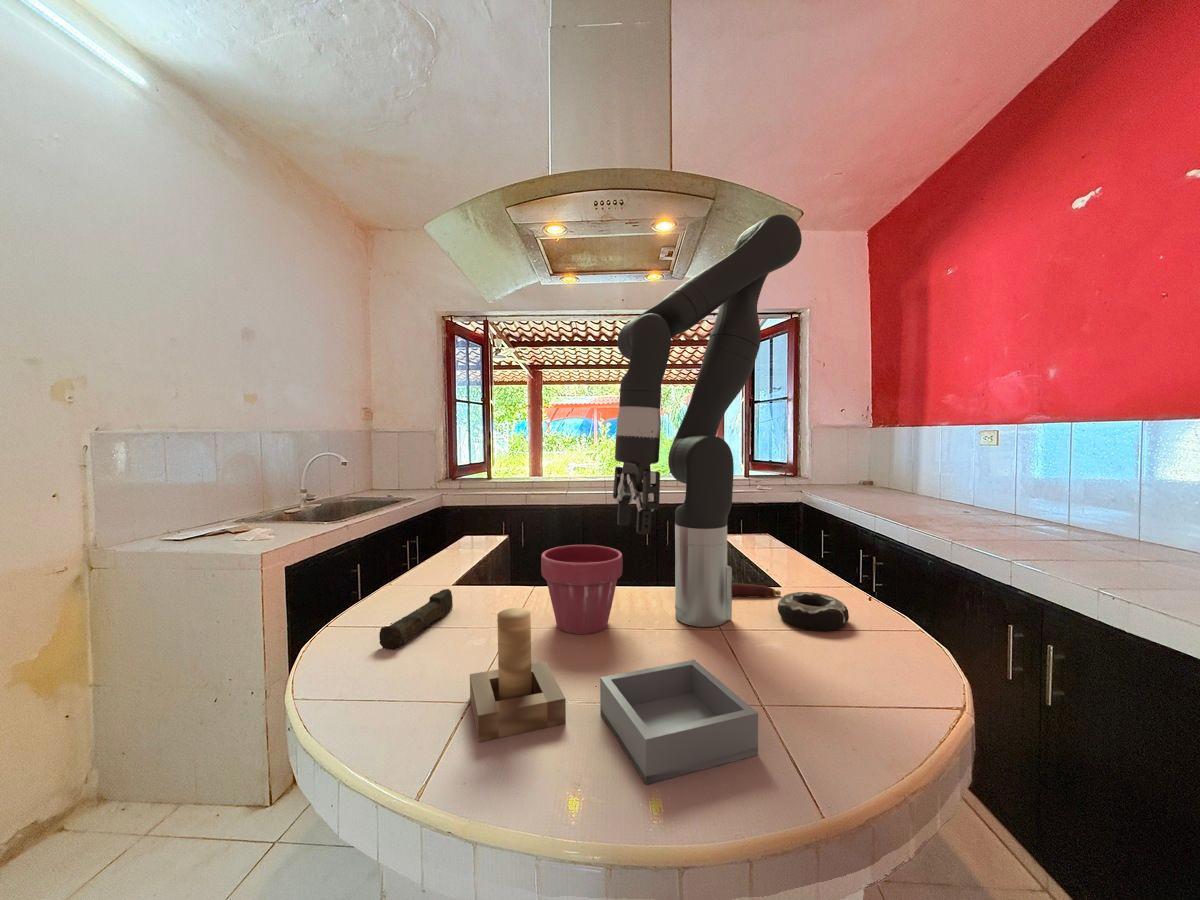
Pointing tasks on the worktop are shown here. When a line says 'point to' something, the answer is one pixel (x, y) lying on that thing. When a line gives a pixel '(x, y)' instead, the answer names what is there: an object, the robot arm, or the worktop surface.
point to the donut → (813, 611)
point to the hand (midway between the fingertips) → (632, 529)
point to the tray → (677, 720)
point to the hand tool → (416, 620)
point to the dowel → (514, 653)
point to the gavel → (753, 590)
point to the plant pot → (581, 585)
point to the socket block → (516, 705)
